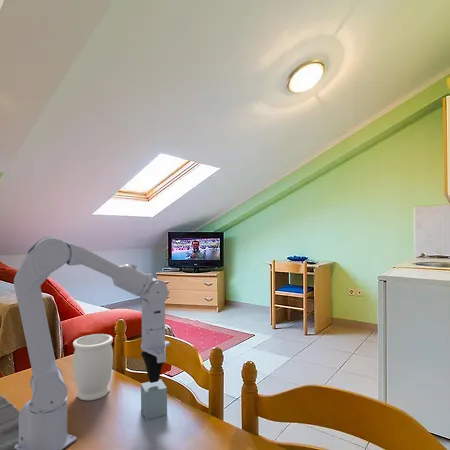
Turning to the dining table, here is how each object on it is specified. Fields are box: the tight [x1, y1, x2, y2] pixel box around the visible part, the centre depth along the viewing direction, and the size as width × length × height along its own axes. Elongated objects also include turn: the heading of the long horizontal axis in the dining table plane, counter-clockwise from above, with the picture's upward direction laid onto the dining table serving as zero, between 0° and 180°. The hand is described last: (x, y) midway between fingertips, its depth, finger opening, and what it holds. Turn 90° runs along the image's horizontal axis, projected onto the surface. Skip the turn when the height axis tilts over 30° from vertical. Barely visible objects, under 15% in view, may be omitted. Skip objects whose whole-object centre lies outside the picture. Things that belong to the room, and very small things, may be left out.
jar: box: [72, 333, 114, 401], centre depth 92 cm, size 11×10×15 cm
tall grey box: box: [140, 378, 168, 421], centre depth 83 cm, size 5×5×7 cm
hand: (153, 381), depth 83 cm, fingers closed
